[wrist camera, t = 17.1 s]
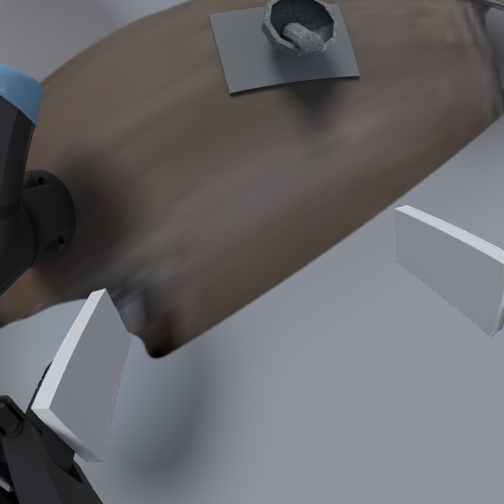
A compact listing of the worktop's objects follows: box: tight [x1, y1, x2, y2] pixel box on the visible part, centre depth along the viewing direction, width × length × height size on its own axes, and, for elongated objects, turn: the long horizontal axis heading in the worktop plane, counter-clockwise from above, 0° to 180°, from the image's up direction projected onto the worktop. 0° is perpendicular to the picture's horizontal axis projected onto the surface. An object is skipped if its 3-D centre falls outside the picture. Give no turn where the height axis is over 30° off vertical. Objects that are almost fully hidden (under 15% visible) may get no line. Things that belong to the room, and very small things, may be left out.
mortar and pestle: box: [262, 0, 339, 57], centre depth 28 cm, size 11×9×12 cm
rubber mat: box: [209, 4, 360, 94], centre depth 33 cm, size 20×13×1 cm, turn 104°
